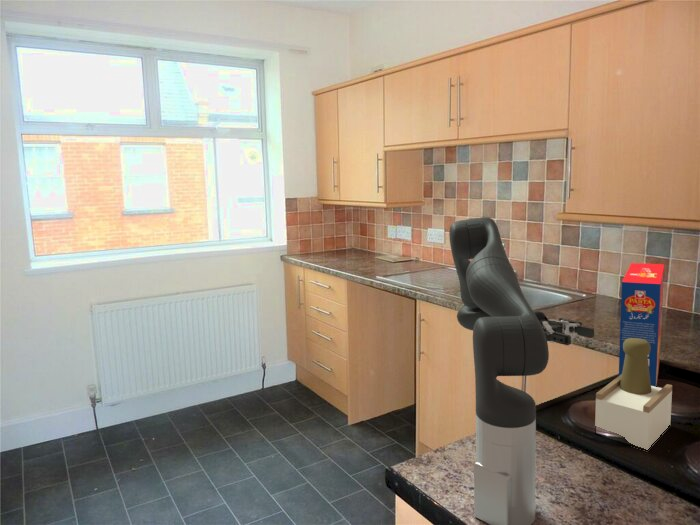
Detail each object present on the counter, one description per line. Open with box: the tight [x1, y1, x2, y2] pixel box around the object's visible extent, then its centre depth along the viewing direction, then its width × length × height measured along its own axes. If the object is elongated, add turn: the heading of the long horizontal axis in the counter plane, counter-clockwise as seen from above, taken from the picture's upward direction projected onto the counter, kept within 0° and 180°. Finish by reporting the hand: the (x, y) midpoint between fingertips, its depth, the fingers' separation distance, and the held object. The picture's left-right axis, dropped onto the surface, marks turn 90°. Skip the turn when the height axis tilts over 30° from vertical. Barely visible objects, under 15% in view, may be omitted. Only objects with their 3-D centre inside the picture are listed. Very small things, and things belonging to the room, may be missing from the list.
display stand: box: [594, 374, 673, 451], centre depth 107 cm, size 14×10×9 cm
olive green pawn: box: [620, 338, 652, 394], centre depth 109 cm, size 6×6×11 cm
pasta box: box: [618, 262, 665, 387], centre depth 134 cm, size 28×8×28 cm, turn 147°
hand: (581, 337), depth 114 cm, fingers open, 8 cm apart
